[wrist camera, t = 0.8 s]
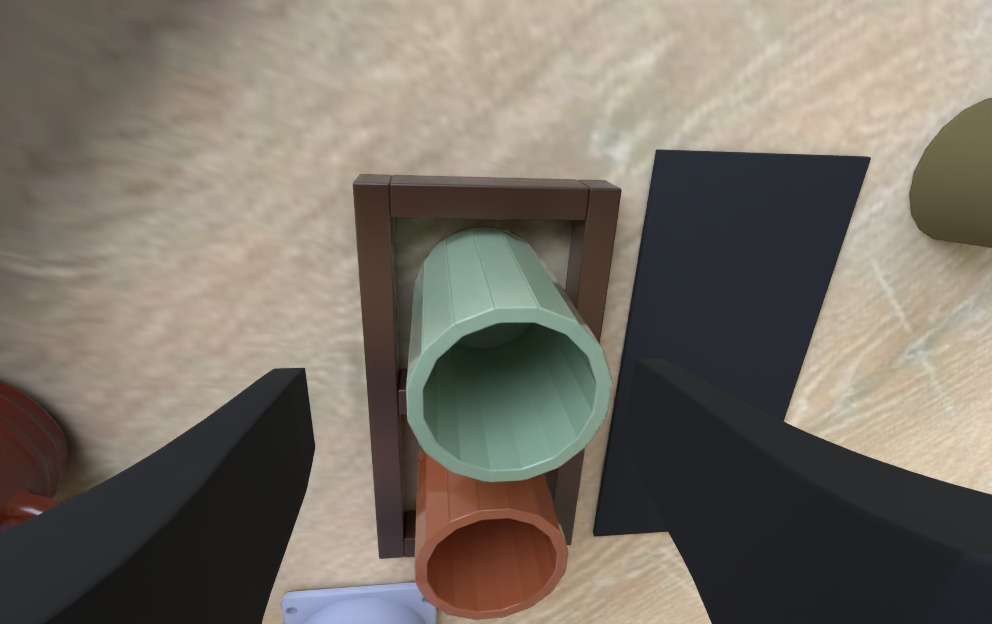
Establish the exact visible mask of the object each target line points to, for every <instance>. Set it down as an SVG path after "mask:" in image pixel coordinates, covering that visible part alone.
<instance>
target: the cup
mask: <svg viewBox="0 0 992 624" xmlns="http://www.w3.org/2000/svg"><path fill="white" fill-rule="evenodd" d="M611 388H612V377H611V374H610V370H609V367H608V364H607V361H606V357H605V354H604V351H603V349H602V347H601V345H600V344H599V342H598V341H597V339H596V338H595V336H594V335H593V333H592V332H591V330H590V329H589V327H588V326H587V324H586V323H585V321H584V320H583V318H582V317H581V315H580V314H579V312H578V311H577V309H576V308H575V306H574V305H573V303H572V302H571V300H570V299H569V297H568V296H567V294H566V292H565V291H564V289H563V288H562V286H561V285H560V283H559V282H558V280H557V279H556V277H555V276H554V274H553V273H552V271H551V270H550V268H549V267H548V265H547V264H546V262H545V261H544V259H543V258H542V257H541V256H540V255H539V254H538V253H537V251H536V250H535V249H534V248H533V247H532V246H531V245H530V244H529V243H528V242H527V241H525V240H524V239H523V238H521V237H520V236H518V235H516V234H514V233H512V232H509V231H506V230H504V229H499V228H494V227H475V228H470V229H465V230H462V231H459V232H456V233H454V234H452V235H450V236H448V237H447V238H445V239H444V240H442V241H441V242H439V243H438V244H437V245H436V246H435V247H434V248H433V249H432V250H431V251H430V252H429V253H428V255H427V256H426V258H425V259H424V260H423V262H422V264H421V266H420V268H419V271H418V274H417V277H416V281H415V284H414V291H413V304H412V317H411V330H410V344H409V357H408V370H407V383H406V400H407V421H408V424H409V426H410V427H411V429H412V431H413V433H414V435H415V436H416V438H417V440H418V442H419V444H420V445H421V447H422V449H423V451H425V453H426V454H428V455H429V456H430V457H432V458H433V459H434V460H436V461H437V462H438V463H440V464H441V465H442V466H444V467H445V468H447V469H448V470H449V471H451V472H453V473H455V474H459V475H462V476H466V477H470V478H473V479H477V480H481V481H484V482H487V481H488V482H502V481H521V480H524V479H525V480H527V479H529V478H532V477H535V476H537V475H540V474H543V473H546V472H548V471H551V470H554V469H556V468H558V467H559V466H562V465H563V464H564V463H566V462H567V461H568V460H570V459H571V458H572V457H573V456H575V455H576V454H577V453H578V452H580V451H581V450H582V449H584V448H585V447H586V446H587V445H588V444H589V443H590V441H591V440H592V438H593V437H594V435H595V434H596V432H597V430H598V429H599V427H600V426H601V424H602V422H603V421H604V419H605V418H606V416H607V413H608V406H609V400H610V394H611Z"/></svg>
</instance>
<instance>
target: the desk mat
mask: <svg viewBox="0 0 992 624" xmlns="http://www.w3.org/2000/svg"><path fill="white" fill-rule="evenodd" d="M870 160H871V158H870V157H863V156H834V155H804V154H774V153H745V152H715V151H685V150H656V154H655V160H654V166H653V172H652V178H651V184H650V190H649V196H648V203H647V209H646V215H645V221H644V227H643V233H642V239H641V245H640V251H639V257H638V263H637V269H636V275H635V281H634V287H633V294H632V300H631V306H630V312H629V318H628V324H627V330H626V336H625V342H624V348H623V354H622V360H621V366H620V372H619V378H618V385H617V391H616V397H615V403H614V409H613V415H612V421H611V427H610V433H609V439H608V445H607V451H606V457H605V463H604V469H603V476H602V482H601V488H600V494H599V500H598V506H597V512H596V518H595V524H594V530H593V533H594V536H610V535H624V534H639V533H653V532H668V530H667V528H666V527H665V525H664V523H663V521H662V519H661V517H660V516H659V514H658V512H657V510H656V508H655V506H654V505H653V503H652V501H651V499H650V497H649V495H648V493H647V492H646V490H645V488H644V486H643V484H642V482H641V480H640V478H639V476H638V474H637V472H636V470H635V467H634V465H633V462H632V460H631V457H630V455H629V452H628V449H627V446H626V443H625V440H624V437H623V435H622V431H623V426H624V420H625V414H626V408H627V402H628V397H629V391H630V385H631V379H632V374H633V368H634V362H635V359H662V360H665V361H667V362H670V363H672V364H674V365H676V366H678V367H680V368H682V369H684V370H686V371H688V372H690V373H691V374H693V375H695V376H697V377H699V378H701V379H703V380H704V381H706V382H708V383H710V384H712V385H714V386H715V387H717V388H719V389H721V390H723V391H725V392H726V393H728V394H730V395H732V396H734V397H736V398H738V399H739V400H741V401H743V402H745V403H747V404H749V405H751V406H753V407H755V408H757V409H759V410H761V411H763V412H765V413H767V414H769V415H771V416H773V417H775V418H777V419H779V420H781V421H784V418H785V415H786V412H787V409H788V406H789V403H790V400H791V397H792V394H793V391H794V388H795V385H796V382H797V379H798V376H799V373H800V370H801V367H802V364H803V361H804V358H805V355H806V352H807V349H808V346H809V343H810V340H811V337H812V334H813V331H814V328H815V325H816V322H817V319H818V316H819V313H820V310H821V307H822V304H823V301H824V298H825V295H826V292H827V289H828V286H829V283H830V280H831V277H832V274H833V271H834V268H835V265H836V262H837V259H838V256H839V253H840V250H841V247H842V244H843V241H844V238H845V235H846V232H847V229H848V226H849V223H850V220H851V217H852V214H853V211H854V208H855V205H856V202H857V199H858V196H859V193H860V190H861V187H862V184H863V181H864V178H865V175H866V172H867V169H868V166H869V163H870Z"/></svg>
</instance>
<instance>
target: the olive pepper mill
mask: <svg viewBox="0 0 992 624" xmlns="http://www.w3.org/2000/svg"><path fill="white" fill-rule="evenodd" d="M910 202H911V212H912V216H913V218H914V219H915V221H916V223H917V225H918V227H919V229H920V230H922V231H923V232H924V233H926V234H927V235H929V236H930V237H932V238H933V239H938V240H944V241H950V242H956V243H963V244H969V245H976V246H982V247H989V248H992V98H989V99H986V100H984V101H982V102H980V103H977V104H975V105H973V106H971V107H969V108H967V109H965V110H964V111H962V112H961V113H960V114H959V115H958V116H956V117H955V118H954V119H953V120H951V121H950V122H949V123H948V124H947V125H945V126H944V127H943V128H942V129H941V131H940V132H939V133H938V135H937V136H936V137H935V138H934V140H933V141H932V142H931V143H930V145H929V146H928V147H927V148H926V150H925V152H924V154H923V156H922V158H921V160H920V162H919V164H918V166H917V168H916V170H915V173H914V178H913V182H912V187H911V192H910Z"/></svg>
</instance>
